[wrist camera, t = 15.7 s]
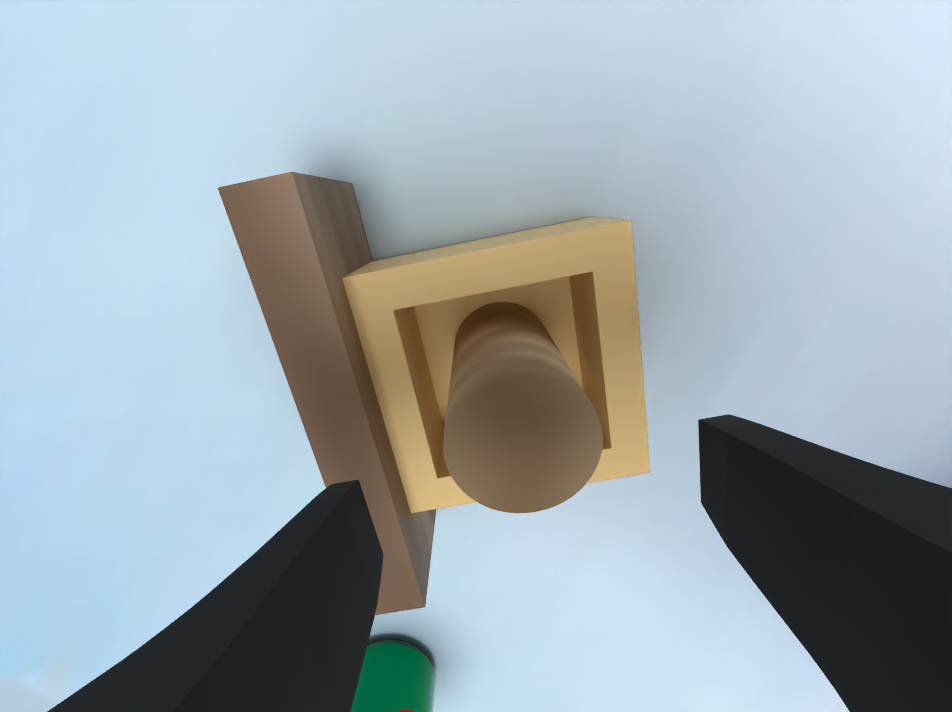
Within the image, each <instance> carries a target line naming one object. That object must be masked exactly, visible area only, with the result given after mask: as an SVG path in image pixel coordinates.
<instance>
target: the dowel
mask: <svg viewBox="0 0 952 712" xmlns="http://www.w3.org/2000/svg"><path fill="white" fill-rule="evenodd" d="M602 447H603V432H602V427H601V422H600V420H599V417H598V414H597V412H596V411H595V409H594V407H593V405H592V403H591V402H590V400H589V399H588V397H587V395H586V394H585V392H584V390H583V389H582V387H581V385H580V384H579V382H578V381H577V379H576V377H575V376H574V374H573V372H572V371H571V369H570V367H569V366H568V364H567V363H566V361H565V359H564V358H563V356H562V354H561V353H560V351H559V350H558V348H557V346H556V345H555V343H554V341H553V340H552V338H551V336H550V335H549V333H548V332H547V330H546V328H545V327H544V325H543V323H542V322H541V321H540V319H539V318H538V317H537V316H536V315H535V314H534V313H533V312H532V311H530V310H529V309H527V308H526V307H524V306H521V305H519V304H516V303H511V302H494V303H490V304H486V305H484V306H481V307H479V308H478V309H476V310H474V311H473V312H472V313H470V314H469V315H468V316H467V317H466V318H465V320H464V321H463V322H462V324H461V325H460V327H459V329H458V332H457V334H456V338H455V344H454V353H453V361H452V370H451V378H450V387H449V395H448V404H447V412H446V421H445V429H444V438H443V453H444V459H445V463H446V466H447V469H448V471H449V473H450V475H451V477H452V478H453V480H454V481H455V483H456V484H457V485H458V487H459V488H460V489H461V490H462V491H463V492H464V493H465V494H467V495H468V496H469V497H470V498H472V499H473V500H475V501H476V502H478V503H480V504H482V505H484V506H486V507H489V508H492V509H495V510H499V511H503V512H510V513H529V512H536V511H541V510H545V509H548V508H551V507H554V506H556V505H558V504H560V503H562V502H564V501H566V500H567V499H569V498H571V497H572V496H573V495H574V494H576V493H577V492H578V491H579V490H580V489H581V488H582V487H583V486H584V485H585V484H586V483H587V482H588V480H589V479H590V478H591V476H592V475H593V473H594V471H595V470H596V468H597V465H598V463H599V460H600V457H601V453H602Z"/></svg>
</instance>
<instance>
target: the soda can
mask: <svg viewBox="0 0 952 712" xmlns="http://www.w3.org/2000/svg"><path fill="white" fill-rule="evenodd" d="M434 686H435V671H434V668H433V665H432V664H431V662H430V661H429V659H428V658H427V656H426V655H425V654H424V653H423V652H422V651H421V650H420V649H419V648H417V647H416V646H414V645H412V644H410V643H408V642H404V641H401V640H391V639H389V640H381V641H377V642H373V643H371V644H369V645H367V649H366V653H365V656H364V660H363V664H362V668H361V672H360V676H359V680H358V684H357V688H356V692H355V696H354V700H353V704H352V708H351V711H350V712H433V700H434Z"/></svg>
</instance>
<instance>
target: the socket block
mask: <svg viewBox="0 0 952 712" xmlns="http://www.w3.org/2000/svg"><path fill="white" fill-rule="evenodd" d="M342 279H343V283H344V286H345V290H346V293H347V297H348V300H349V303H350V307H351V310H352V314H353V317H354V320H355V324H356V327H357V331H358V334H359V337H360V341H361V344H362V348H363V351H364V355H365V358H366V361H367V365H368V368H369V372H370V375H371V378H372V382H373V385H374V389H375V392H376V396H377V399H378V402H379V406H380V409H381V413H382V416H383V419H384V423H385V426H386V430H387V433H388V436H389V440H390V443H391V447H392V450H393V454H394V457H395V460H396V464H397V467H398V471H399V474H400V477H401V481H402V484H403V488H404V491H405V495H406V498H407V501H408V505H409V508H410V512H411V513H416V512H422V511H427V510H433V509H439V508H445V507H451V506H457V505H463V504H468V503H474V502H476V501H475V500H473V499H472V498H470V497H469V496H468V495H467V494H465V493H464V492H463V491H462V490H461V489H460V488H459V487H458V485H457V484H456V483H455V481H454V480H453V478H452V477H451V475H450V473H449V471H448V469H447V466H446V463H445V459H444V453H443V438H444V429H445V421H446V412H447V404H448V395H449V387H450V378H451V370H452V361H453V353H454V344H455V338H456V334H457V332H458V329H459V327H460V325H461V324H462V322H463V321H464V320H465V318H466V317H467V316H468V315H469V314H470V313H472V312H473V311H474V310H476V309H478V308H479V307H481V306H484V305H486V304H490V303H494V302H511V303H516V304H519V305H521V306H524V307H526V308H527V309H529V310H530V311H532V312H533V313H534V314H535V315H536V316H537V317H538V318H539V319H540V321H541V322H542V323H543V325H544V327H545V328H546V330H547V332H548V333H549V335H550V336H551V338H552V340H553V341H554V343H555V345H556V346H557V348H558V350H559V351H560V353H561V354H562V356H563V358H564V359H565V361H566V363H567V364H568V366H569V367H570V369H571V371H572V372H573V374H574V376H575V377H576V379H577V381H578V382H579V384H580V385H581V387H582V389H583V390H584V392H585V394H586V395H587V397H588V399H589V400H590V402H591V403H592V405H593V407H594V409H595V411H596V412H597V414H598V417H599V420H600V422H601V427H602V432H603V447H602V453H601V457H600V460H599V463H598V465H597V468H596V470H595V471H594V473H593V475H592V476H591V478H590V479H589V480H588V482H587V483H592V482H597V481H603V480H609V479H615V478H621V477H627V476H633V475H639V474H644V473H650V463H649V449H648V436H647V423H646V409H645V396H644V383H643V369H642V356H641V343H640V329H639V316H638V302H637V289H636V276H635V262H634V249H633V236H632V222H631V220H624V219H612V218H600V217H589V218H584V219H579V220H574V221H569V222H564V223H559V224H554V225H549V226H544V227H539V228H534V229H529V230H524V231H519V232H514V233H509V234H504V235H499V236H494V237H489V238H484V239H479V240H474V241H470V242H465V243H460V244H455V245H450V246H445V247H440V248H435V249H430V250H425V251H420V252H415V253H410V254H405V255H400V256H395V257H390V258H385V259H380V260H375V261H372V262H370V263H368V264H366V265H365V266H363V267H361V268H359V269H357V270H356V271H354V272H352V273H350V274H348V275H347V276H345V277H343V278H342Z"/></svg>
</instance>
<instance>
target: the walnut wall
mask: <svg viewBox="0 0 952 712" xmlns="http://www.w3.org/2000/svg"><path fill="white" fill-rule="evenodd" d="M218 190H219V193H220V196H221V198H222V201H223V204H224V207H225V209H226V212H227V215H228V218H229V220H230V223H231V226H232V229H233V232H234V234H235V237H236V240H237V243H238V245H239V248H240V251H241V254H242V256H243V259H244V262H245V265H246V268H247V270H248V273H249V276H250V279H251V281H252V284H253V287H254V290H255V292H256V295H257V298H258V301H259V304H260V306H261V309H262V312H263V315H264V317H265V320H266V323H267V326H268V328H269V331H270V334H271V337H272V340H273V342H274V345H275V348H276V351H277V353H278V356H279V359H280V362H281V364H282V367H283V370H284V373H285V376H286V378H287V381H288V384H289V387H290V389H291V392H292V395H293V398H294V400H295V403H296V406H297V409H298V412H299V414H300V417H301V420H302V423H303V425H304V428H305V431H306V434H307V436H308V439H309V442H310V445H311V448H312V450H313V453H314V456H315V459H316V461H317V464H318V467H319V470H320V472H321V475H322V478H323V481H324V484H325V486H326V488H327V487H328V486H330V485H331V484H335V483H341V482H347V481H352V480H358V479H359V482H360V485H361V488H362V491H363V494H364V497H365V500H366V503H367V506H368V509H369V512H370V515H371V518H372V521H373V524H374V527H375V530H376V533H377V536H378V539H379V542H380V545H381V549H382V552H383V555H384V556H383V565H382V574H381V582H380V590H379V597H378V604H377V608H376V612H375V615H379V614H385V613H391V612H397V611H404V610H410V609H416V608H423V607H425V604H426V595H427V586H428V577H429V568H430V559H431V551H432V542H433V533H434V524H435V515H436V509H433V510H427V511H422V512H416V513H411V512H410V508H409V505H408V501H407V498H406V495H405V491H404V488H403V484H402V481H401V477H400V474H399V471H398V467H397V464H396V460H395V457H394V454H393V450H392V447H391V443H390V440H389V436H388V433H387V430H386V426H385V423H384V419H383V416H382V413H381V409H380V406H379V402H378V399H377V396H376V392H375V389H374V385H373V382H372V378H371V375H370V372H369V368H368V365H367V361H366V358H365V355H364V351H363V348H362V344H361V341H360V337H359V334H358V331H357V327H356V324H355V320H354V317H353V314H352V310H351V307H350V303H349V300H348V297H347V293H346V290H345V286H344V283H343V279H342V278H343V277H345V276H347V275H348V274H350V273H352V272H354V271H356V270H357V269H359V268H361V267H363V266H365V265H366V264H368V263H370V262H372V257H371V253H370V250H369V246H368V242H367V238H366V235H365V231H364V227H363V223H362V220H361V216H360V212H359V208H358V205H357V201H356V197H355V193H354V190H353V186H352V183H346V182H341V181H336V180H331V179H326V178H321V177H316V176H311V175H305V174H300V173H295V172H289V173H284V174H279V175H275V176H270V177H265V178H261V179H256V180H251V181H247V182H242V183H237V184H233V185H228V186H223V187H219V188H218Z"/></svg>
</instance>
